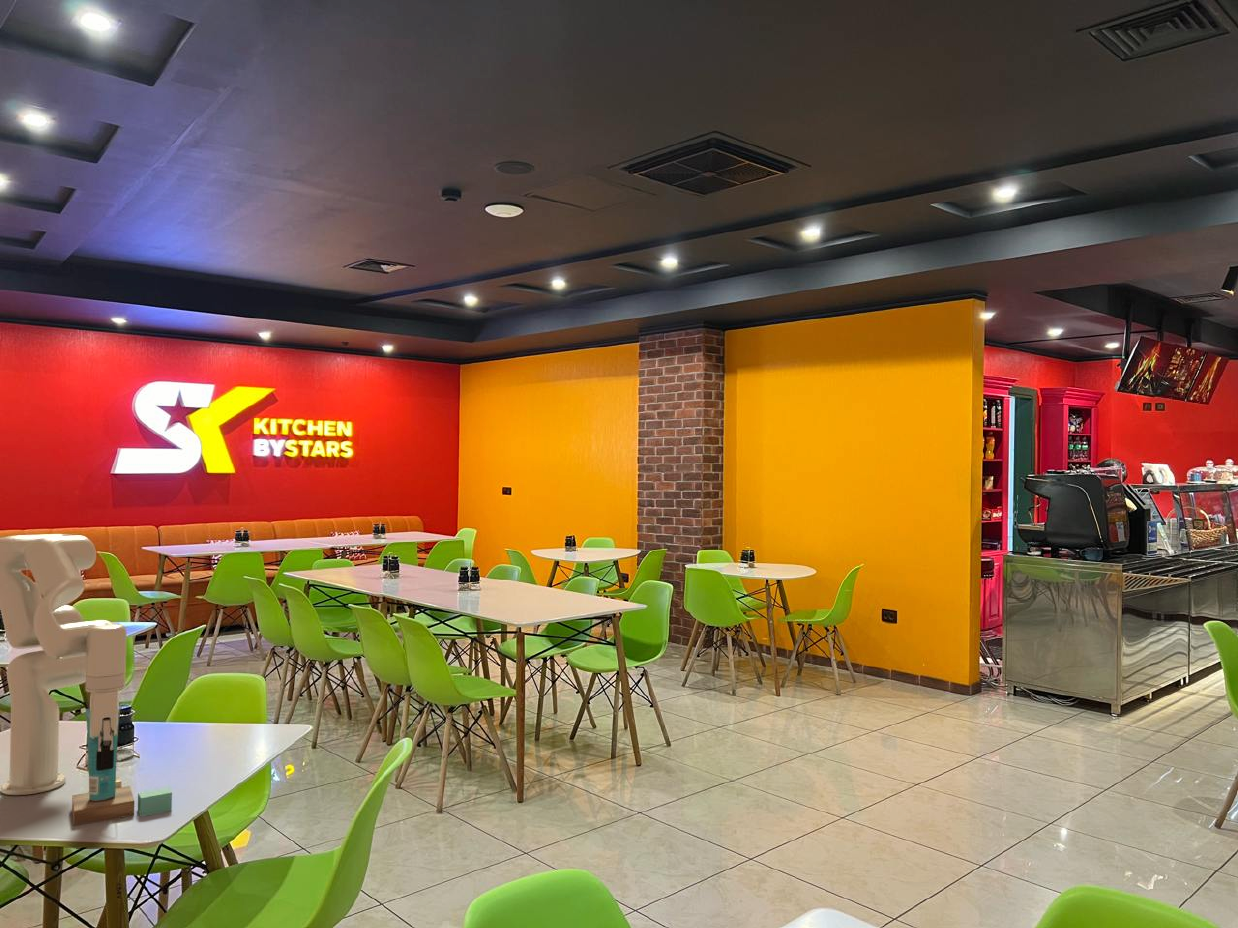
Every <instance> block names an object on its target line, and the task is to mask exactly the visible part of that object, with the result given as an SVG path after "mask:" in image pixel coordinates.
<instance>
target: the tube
mask: <svg viewBox="0 0 1238 928" xmlns="http://www.w3.org/2000/svg"><path fill="white" fill-rule="evenodd" d="M120 714H121V708H119V711H118V725H117V734H116V735H115V736H113V749H114V767H113V768H112V769H106V770H100V771H97V770H96V752H97V751H98V737H94V739H92V738H91V737H90V734H89V716H90V708H85V719H86V731H87V733H86V734H87V754H88V755H87V756H88V793H89V799H90V800H93V801H100V800H106V799H109V798H112V797H114V796H115V792H116V776H117V759H118V757H117V754H118V736H119V724H120V716H121V715H120ZM102 726H103V725H102ZM113 731H114V730H113ZM110 735H111V733H110ZM101 736H103V734H100V737H101ZM102 741H103V740H101V742H102Z"/></svg>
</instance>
